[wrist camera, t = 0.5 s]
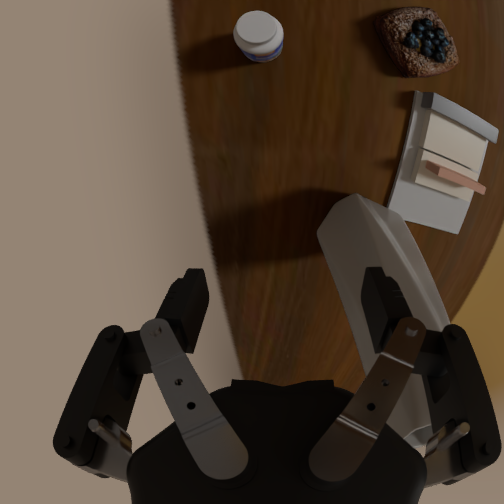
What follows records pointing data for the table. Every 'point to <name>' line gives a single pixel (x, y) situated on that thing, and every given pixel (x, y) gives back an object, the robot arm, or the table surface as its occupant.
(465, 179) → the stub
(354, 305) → the vase
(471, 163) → the white tray
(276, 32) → the pill bottle
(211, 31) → the table surface
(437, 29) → the pastry
